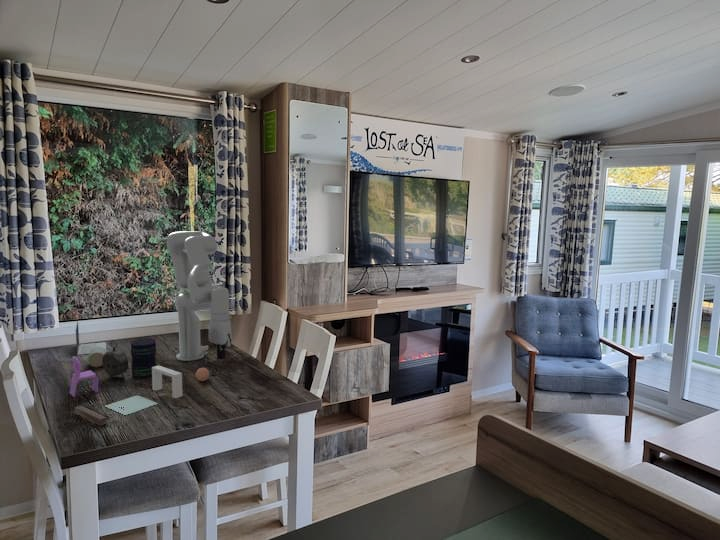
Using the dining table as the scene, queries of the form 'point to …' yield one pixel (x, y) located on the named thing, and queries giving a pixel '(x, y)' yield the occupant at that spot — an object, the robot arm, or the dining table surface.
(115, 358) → the alarm clock
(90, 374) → the toy chair
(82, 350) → the laptop
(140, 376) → the storage jar
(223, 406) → the dining table surface
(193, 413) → the dining table surface
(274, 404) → the dining table surface
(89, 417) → the brown wooden bar
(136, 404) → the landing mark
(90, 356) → the ceramic mug
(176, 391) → the bridge
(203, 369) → the ball
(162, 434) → the dining table surface
